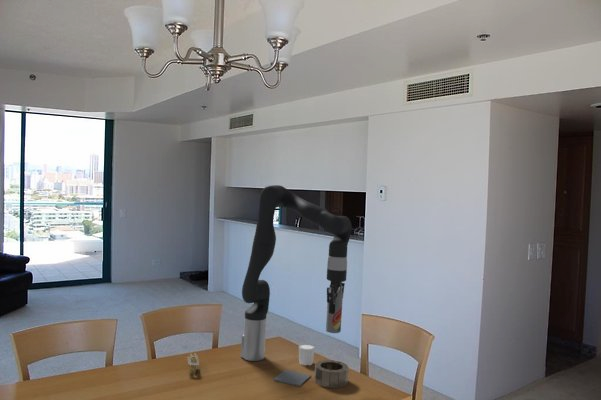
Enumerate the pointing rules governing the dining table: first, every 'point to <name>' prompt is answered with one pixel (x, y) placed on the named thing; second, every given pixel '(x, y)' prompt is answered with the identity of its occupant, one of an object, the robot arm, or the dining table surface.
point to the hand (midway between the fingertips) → (334, 311)
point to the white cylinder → (306, 354)
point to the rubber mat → (292, 377)
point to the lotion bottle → (335, 314)
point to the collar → (331, 374)
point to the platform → (193, 362)
